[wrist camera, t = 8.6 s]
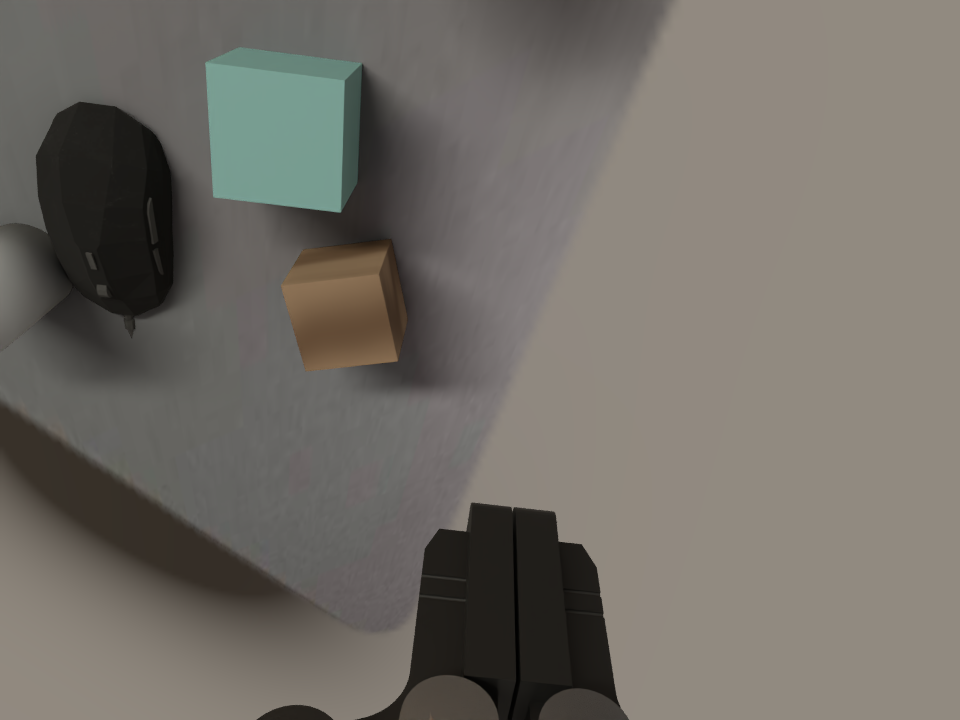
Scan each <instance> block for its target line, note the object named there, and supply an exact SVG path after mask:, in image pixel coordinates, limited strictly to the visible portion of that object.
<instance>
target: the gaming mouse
mask: <svg viewBox="0 0 960 720" xmlns="http://www.w3.org/2000/svg"><path fill="white" fill-rule="evenodd" d="M36 166H37V185H38V197H39V202H40V206H41V210H42V214H43V218H44V222H45V226H46V229H47V232H48V234H49V237H50V239H51V242H52V244H53V247H54V249H55V252H56V254H57V257H58V259H59V261H60V263H61V265H62V266H63V268H64V270H65V272H66V273H67V275H68V277H69V279H70V281H71V282H72V284H73V285H74V286H75V287H76V288H77V290H78V291H79V292H80V293H81V294H82V295H83V296H84V297H86V298H88V299H89V300H91V301H93V302H94V303H96V304H98V305H100V306H101V307H103V308H105V309H106V310H108V311H110V312H112V313H116V314H124V317H125V318H124V322H125V327H126V329H127V330H128V331H129V334H130V336H131V338H132V335H133V330H134V329H135V320H134V319H133V317H134V316H136V315H139V314H141V313H143V312H146V311H148V310H150V309H152V308H155V307H157V306H160V305H161V304H162V303H163V301H164V299H165V297H166V295H167V293H168V291H169V289H170V287H171V285H172V283H173V235H172V191H171V175H170V171H169V168H168V165H167V162H166V159H165V156H164V152H163V149H162V147H161V144H160V142H159V141H158V140H157V138H156V137H155V136H154V134H153V133H152V132H151V131H150V130H149V129H147V128H146V127H144V126H143V125H141V124H140V123H139V122H137V121H136V120H134V119H133V118H131V117H130V116H129V115H127V114H126V113H124V112H123V111H121V110H120V109H119V108H117V107H115V106H107V105H100V104H92V103H85V102H78V103H76V104H74V105H73V106H71V107H69V108H67V109H65V110H63V111H61V112H59V113H58V114H57V115H56V116H55V118H54V120H53V122H52V125H51V127H50V129H49V131H48V133H47V135H46V137H45V139H44V141H43V143H42V145H41V147H40V149H39V151H38V153H37V155H36Z"/></svg>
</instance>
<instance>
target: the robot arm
mask: <svg viewBox="0 0 960 720" xmlns="http://www.w3.org/2000/svg"><path fill="white" fill-rule="evenodd" d="M412 652H413V653H412V660H411V668H410V676H409V680H408V682H407V685H406V687H405V689H404V690H403V692H402V694H401V695H400V696H399V697H398V698H397V699H396V701H395V702H393V703H392V704H391V705H390V706H389V707H387V708H386V709H384V710H382V711H381V712H379V713H376V714H374V715H372V716H369V717H365V718H361V719H357V720H629V719H628V717H627V716H626V715H625V713H624V712H623V710H622V709H621V708H620V705H619V702H618V700H617V696H616V691H615V684H614V678H613V672H612V665H611V659H610V652H609V645H608V639H607V633H606V626H605V619H604V618H603V606H602V599H601V597H600V587H599V580H598V573H597V567H596V566H595V564H594V563H593V561H592V560H591V558H590V557H589V555H588V553H587V552H586V550H585V549H584V547H583V546H582V544H574V543H565V542H558V532H557V522H556V515H555V512H552V511H543V510H534V509H526V508H517V507H514V509H513V512H512V508H511V507H506V506H498V505H489V504H480V503H471V506H470V512H469V519H468V525H467V531H466V532H464V531H455V530H446V529H439V530H438V531H437V533H436V534H435V535H434V537H433V538H432V540H431V541H430V542H429V544H428V545H427V547H426V548H425V552H424V561H423V569H422V577H421V585H420V593H419V601H418V610H417V618H416V626H415V636H414V643H413V651H412ZM257 720H333V719H332V718H331V717H330V716H328V715H327V714H326V713H324V712H322V711H320V710H318V709H316V708H313V707H310V706H303V705H290V706H284V707H281V708H277V709H274V710H272V711H270V712H268V713H266V714H264V715H263V716H261V717H260V718H258V719H257Z"/></svg>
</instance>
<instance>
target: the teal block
mask: <svg viewBox="0 0 960 720" xmlns="http://www.w3.org/2000/svg"><path fill="white" fill-rule="evenodd" d="M206 78H207V96H208V113H209V130H210V148H211V165H212V182H213V197H216V198H225V199H233V200H241V201H249V202H257V203H266V204H274V205H282V206H290V207H299V208H307V209H315V210H323V211H331V212H340V213H341V211H342V210H343V208H344V206H345V204H346V202H347V201H348V199H349V197H350V195H351V194H352V192H353V190H354V188H355V186H356V185H357V183H358V158H359V132H360V107H361V81H362V63H356V62H348V61H341V60H333V59H325V58H318V57H310V56H302V55H295V54H287V53H279V52H272V51H264V50H256V49H249V48H241V47H239V48H237V49H234V50H232V51H230V52H228V53H226V54H223V55H221V56H219V57H217V58H214V59H212V60H210V61H208V62H206Z"/></svg>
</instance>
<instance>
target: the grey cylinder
mask: <svg viewBox="0 0 960 720" xmlns="http://www.w3.org/2000/svg"><path fill="white" fill-rule="evenodd" d="M72 287H73V284H72V282H71V281H70V279H69V277H68V275H67V273H66V272H65V270H64V268H63V266H62V265H61V263H60V261H59V259H58V257H57V254H56V252H55V249H54V247H53V244H52V242H51V239H50V237H49V234H47V233H46V232H44V231H42V230H40V229H38V228H36V227H33V226H30V225H25V224H17V223H14V224H6V225H3V226H0V352H1V351H3V350H4V349H5V348H7V347H8V346H9V345H10V344H11V343H13V342H14V341H15V340H16V339H17V338H18V337H20V336H21V335H22V334H23V333H24V332H25V331H27V330H28V329H29V328H30V327H31V326H33V325H34V324H35V323H36V322H37V321H38V320H40V319H41V318H42V317H43V316H44V315H46V314H47V313H48V312H49V311H50V310H51V309H53V308H54V307H55V306H56V305H57V304H58V303H60V302H61V301H62V300H63V299H64V298H65V297H66V296H67V295H68V294H69V293H70V291H71V290H72Z"/></svg>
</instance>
